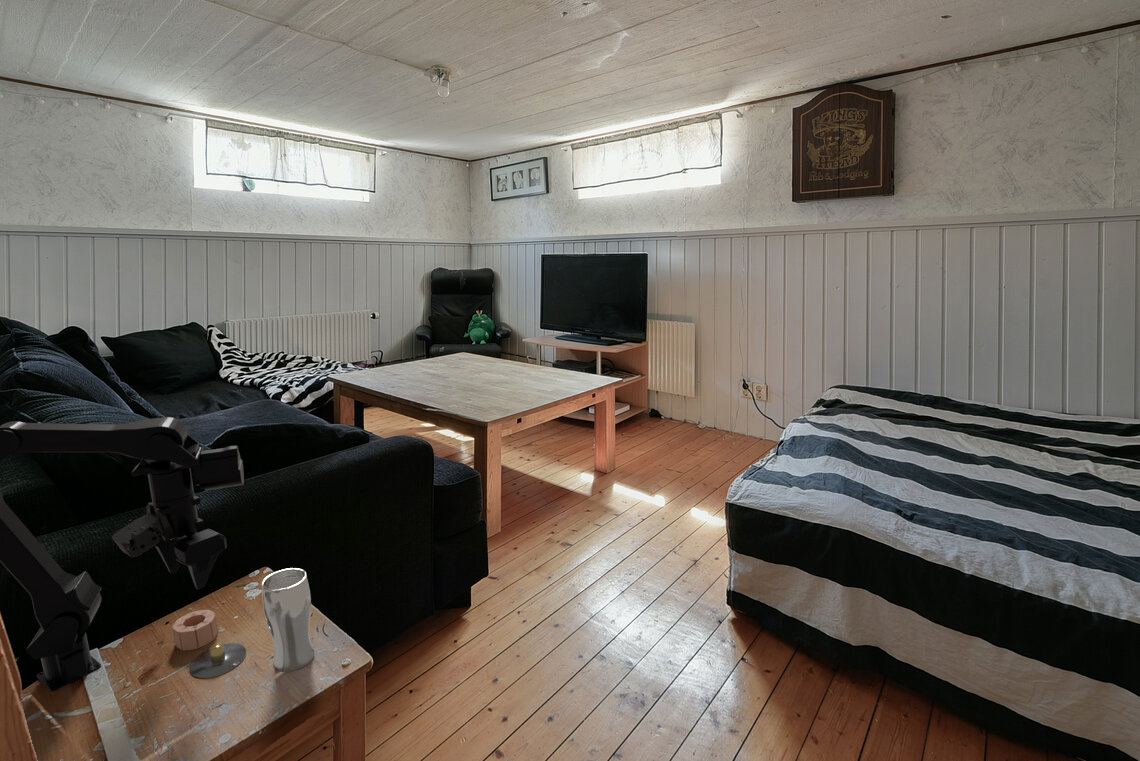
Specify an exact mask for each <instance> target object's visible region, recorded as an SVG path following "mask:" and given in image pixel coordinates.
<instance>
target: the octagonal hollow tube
mask: <svg viewBox="0 0 1140 761" xmlns="http://www.w3.org/2000/svg"><path fill="white" fill-rule="evenodd" d="M171 630H172V634H173V641H174V646H175V647H176V648H177V647H178V648H177V649H179V650H180V651H191V649H192V650H197V649H199V648H202V647H203V646H206V645H208V644H210V643H211V642H213V641H214V640H215V638H216V637H217V635H218V633H219V628H218V621H217V615H216V613H215V612H214V611H212V610H210V609H200V610H194V611H191V612H189V613H187V614H184V615H183V616H181V617H178V619H176V621H175V622H174V624H173V625H172V627H171ZM198 647H199V648H198Z"/></svg>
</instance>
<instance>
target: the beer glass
mask: <svg viewBox="0 0 1140 761" xmlns="http://www.w3.org/2000/svg"><path fill="white" fill-rule="evenodd" d="M307 575H308V574H307V572H306V570H304V569H302V568H297V567H294V568H293V567H290V568H284V569H283V568H282V569H281V570H280V569H279V570H277V571H274V572H273V573H270V574H269V575H267V576H266V577H265V578H264V579H263V580H262V581H261V593H262V594H261V596H262V598H261V599H262V609H263V616H264V618H265V623H266V626H267V627H268V631H269V634H270V635H271V640H272V643H273V648H274V654H273V655H274V656H273V666H274V667H275V669H278V670H279V671H280V672H282V673H290V672H291V673H292V672H294V671H298V670H300V669H302V668H304V667H306V666H307V665H308V664H309V663H310V662H311V661H312V660H313V658H314V655H315V652H314V648H313V645H312V643H311V638H310V627H311V626H310V625H311V624H310V623H311V614H312V601H311V600H312V597H311V596H312V595H311V590H310V585H309V581H308V576H307Z"/></svg>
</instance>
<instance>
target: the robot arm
mask: <svg viewBox="0 0 1140 761" xmlns="http://www.w3.org/2000/svg"><path fill="white" fill-rule="evenodd" d="M204 448H205V447H204V446H203V444H201V443H200V442H199V441H197V439H195V438H194V437H193V436H191V435H190V434H189V433H188V429H187V426H185V424H184V423H183V422H181V421H180V420H179V419H177V418H176V417H170V416H164V417H155V418H147V419H139V420H136V421H131V422H125V423H118V424H110V423H109V424H108V423H107V424H106V423H105V424H104V423H102V424H101V423H98V424H97V423H54V422H51V423H50V422H49V423H48V422H46V423H45V422H41V423H40V422H24V421H23V422H22V421H18V420H17V421H16V420H14V421H9V422H6V423H3V424H1V425H0V462H2V461H3V460H4V459H5V458H8V457H9V456H10V455H11V454H17V453H18V454H19V453H25V454H26V453H28V454H29V453H38V454H39V453H45V454H46V453H47V454H48V453H51V454H52V453H63V454H64V453H66V454H67V453H75V454H76V453H109V454H110V453H111V454H113V453H114V454H119V455H122V456H126V457H130V458H133V459H138V460H140V461H139V463H138V464H137V465H135V467H134V469H133V470H132V471H131V473H130V475H131V476H132V477H137V476H138V477H139V476H144V475H145V476H146V475H147V478H148V484H149V490H150V497H151V500H152V501H151V502H148V503H147V505H146V514H145V515H143V516H141V517H139V518H136V519H135V520H133V521H132V522H130V523H128V524H127V525H125V526H124V527H122V528H120V530H117V531H116V532H115V533H114V534H112V536H111V538H112V540H113V541H114V543H115V544H116V545H117V546H118V547H119V549H120V550H121V551H122V553H123V554H126V555H128V556H129V558H137V557H138V556H141V555H142V554H143V553H144V552H147V551H148V550H149V549H151V548H153V547H154V548H156V550H157V552H158V554H159V556H160V557H161V559H162V562H164V564H165V567H166V568H167V570H168V572H169V573H170V574H175V573H177V572H178V571H179V568H180V563H181V564H183V565H184V566H187V567H188V571H189V574H190V576H191V578H192V582H193V585H194V587H195V589H196V590H198V591H199V590H201V589H203V588H205V586H206V584H207V581H208V579H209V577H210V573H211V572H212V570H213V567H214V564H215V563H216V560H217V558H218V556H219V555H220V553H221V554H222V552H223V551H225V550H226V549H227V548H228V544H227V537H226V536H225V535H224V534H221V533H219V532H217V531H215V530H212V529H210V528H207V529H203V530H202V531H197V529H199V528H202V527H204V526H205V523H204V520H203V518H200V517H199V516H198V509H197V505H198V504H199V505H200V504H201V503H202V502H201V497H199V496H197V495H195V491H194V490H195V489H194V484H193V478H192V477H193V476H192V471H191V469H193V475H194V482H195V485H196V486H198V487H199V489H204V491H211V490H218V489H224V488H225V489H226V488H232V487H237V486H238V487H239V486H244V483H245V477H244V476H245V475H244V463H243V459H242V458H241V454H240V450H239V446H238V445H230V446H226V447H221V448H216V449H215V448H214V449H205V450H204ZM0 563H1V564H2V565H3V566H4V567H5V568H6V570H7V571H8V572H9V573H10V574H11V575H12V576H13V578H14V579H15V580H16V581H17V582H18V583H19V584H20V585H21V586H22V587H23V589H24V590H25V591H26V592H27V593H28V594H29V596H30V598H31V602H32V607H33V612H34V616H35V618H36V620H37V622H38V624H39V626H40V628H39V629H38V631H37V632H36V633H35V635H34V637H33V638H32V639H31V642H30V643H29V645H28V646H27V647H26V650H25V652H26V653H27V654H28V655H29V656H30V657H31V659H33V660H34V661H36V660H39V659H40V661H41V666H42V669H43V671H41V672H39V673H37V674H36V678H37V679H38V680H39V681H40V682H41V683H42V684H43V685H44V686H45V687H46V689H48V690H49V691H50V692H54V691H57V690H59V689H60V688H62V687H64V686H67V685H69V684H70V683H73V682H75V681H76V680H78V679H79V680H80V678H83V677H85V676H87V675H88V674H91V673H92V672H94V671H97V670H98V669H100V668H102V664H101V663H100V662H99V661H98V660H96V659H95V658H94V657H93V656H92V655H91V651H90V646H89V642H88V636H87V633H86V632H87V631H86V630H88V629H89V627H90V625H91V623H92V621H93V619H94V618H95V615H96V613H97V612H98V609H99V607H100V605H101V602H102V595H101V591H102V588H103V587H102V586H99V585H98V584H96V583H95V582H94V581H93V579H92V578H91V577H92V576H90V574H89V573H88V571H83V572H82V573H80V574H79V575H74V574H72V573H69V572H66V571H65V570H64V569H63V568H62V567H61V566H60V565H59V563H57V561H56V559H54V558H53V557H52V556H51V554H50V553H49V552H48V551H47V549H45V547H44V546H43V545H42V544H41V543H40V541H39V540H38V539H37V538H36V537H35V535H34V534H33V533H32V532H31V531H30V529H29V528H28V527H27V526H26V525H25V524H24V523H23V521H22V520H21V519H20V518H19V516H18V515H16V514H15V512H14V511H13V510H12V509H11V508H10V506H8V504H7V503H6V501H5V499H4V495H3V491H2V487H1V485H0ZM86 674H87V675H86ZM84 675H85V676H84Z"/></svg>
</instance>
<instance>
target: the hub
mask: <svg viewBox="0 0 1140 761" xmlns="http://www.w3.org/2000/svg"><path fill="white" fill-rule="evenodd" d="M246 655H247V650H246V648H245V646H244V645H243V644H239V643H235V642H233V643H232V642H230V643H223V642H216V643H213V644H212V645H211V646H210V647H209V648H208V649H206V650H204V651H203V652H202V653H199V654H198V656H196V657H195V658H194V659H193V660H192V662H191V663H190V665H189V673H190V674H191V675H192V676H194V677H196V678H199V679H209V678H214V677H218V676H221V675H224V674H226V673H229V672H230V671H232V670H233V669H235V668H236V667H237V666H239V665H240V664H241V663H242V662H243V661H244V659H245V658H246Z"/></svg>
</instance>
